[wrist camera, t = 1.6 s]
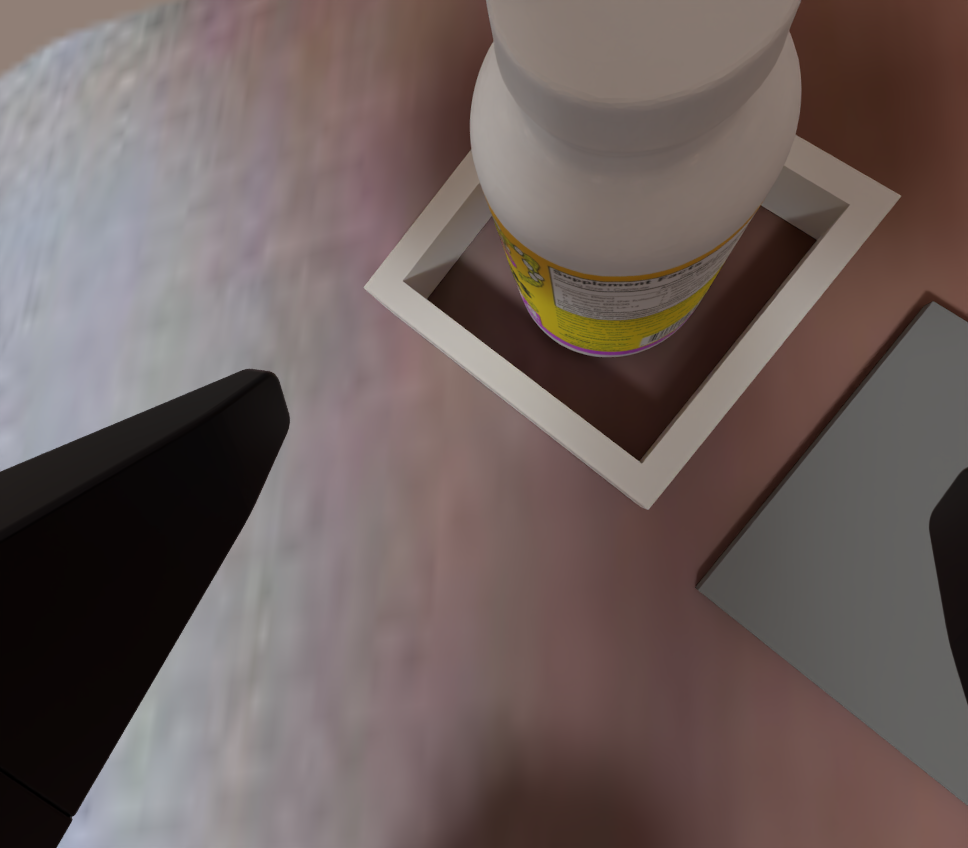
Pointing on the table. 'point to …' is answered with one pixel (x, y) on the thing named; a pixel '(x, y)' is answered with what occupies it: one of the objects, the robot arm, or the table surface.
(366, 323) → the table surface
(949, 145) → the table surface
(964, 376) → the mat
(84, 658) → the robot arm
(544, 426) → the holder
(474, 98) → the supplement bottle
